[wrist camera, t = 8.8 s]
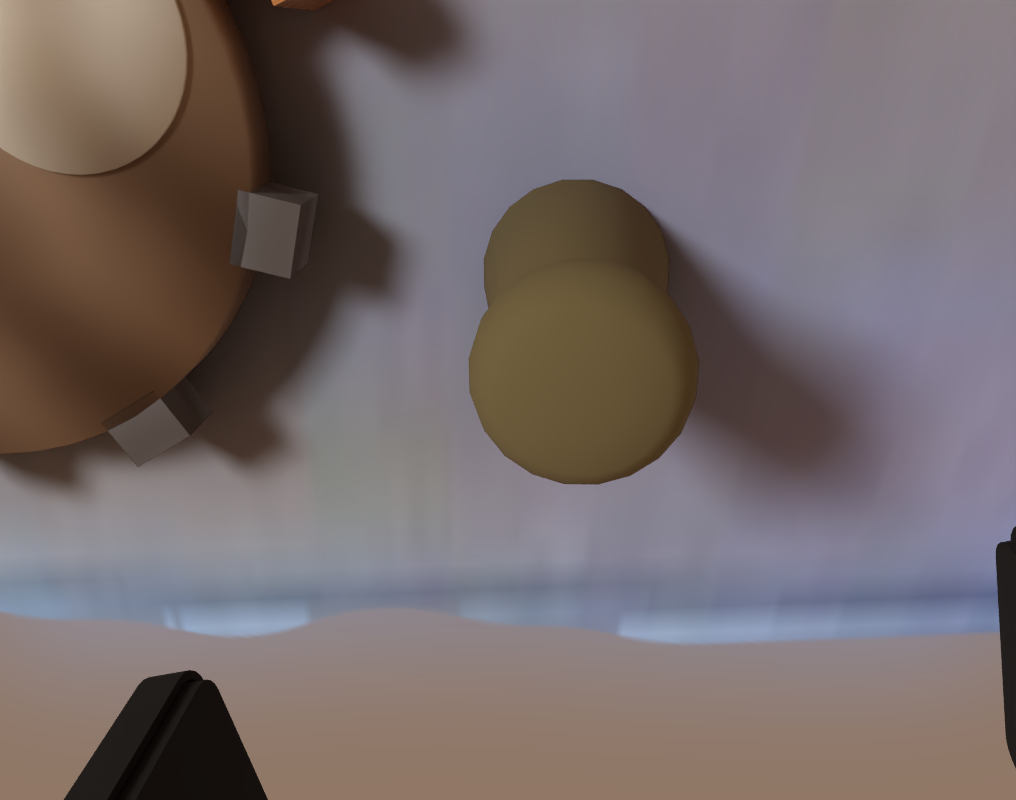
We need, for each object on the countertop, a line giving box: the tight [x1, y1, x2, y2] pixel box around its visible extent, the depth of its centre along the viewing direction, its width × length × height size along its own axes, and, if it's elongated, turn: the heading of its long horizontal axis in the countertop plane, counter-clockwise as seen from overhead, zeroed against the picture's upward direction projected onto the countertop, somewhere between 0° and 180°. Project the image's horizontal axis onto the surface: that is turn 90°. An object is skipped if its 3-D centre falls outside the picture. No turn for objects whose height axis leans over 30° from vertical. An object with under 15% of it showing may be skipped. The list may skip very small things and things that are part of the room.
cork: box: [469, 180, 699, 484], centre depth 24 cm, size 6×6×11 cm
